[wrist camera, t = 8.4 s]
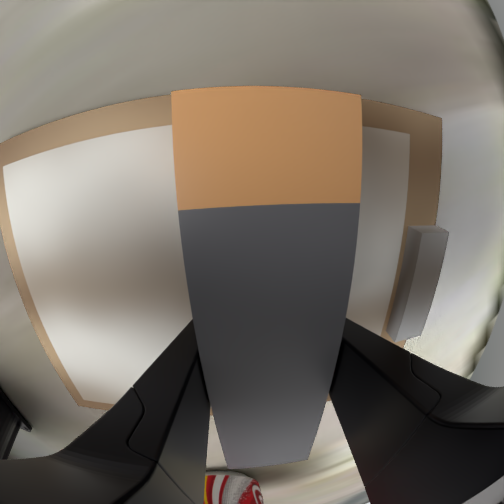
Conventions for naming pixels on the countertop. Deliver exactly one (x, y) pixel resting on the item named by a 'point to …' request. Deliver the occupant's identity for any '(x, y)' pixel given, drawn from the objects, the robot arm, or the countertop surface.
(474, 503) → the robot arm
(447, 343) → the countertop surface
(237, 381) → the marker
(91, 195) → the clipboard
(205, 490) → the soda can
